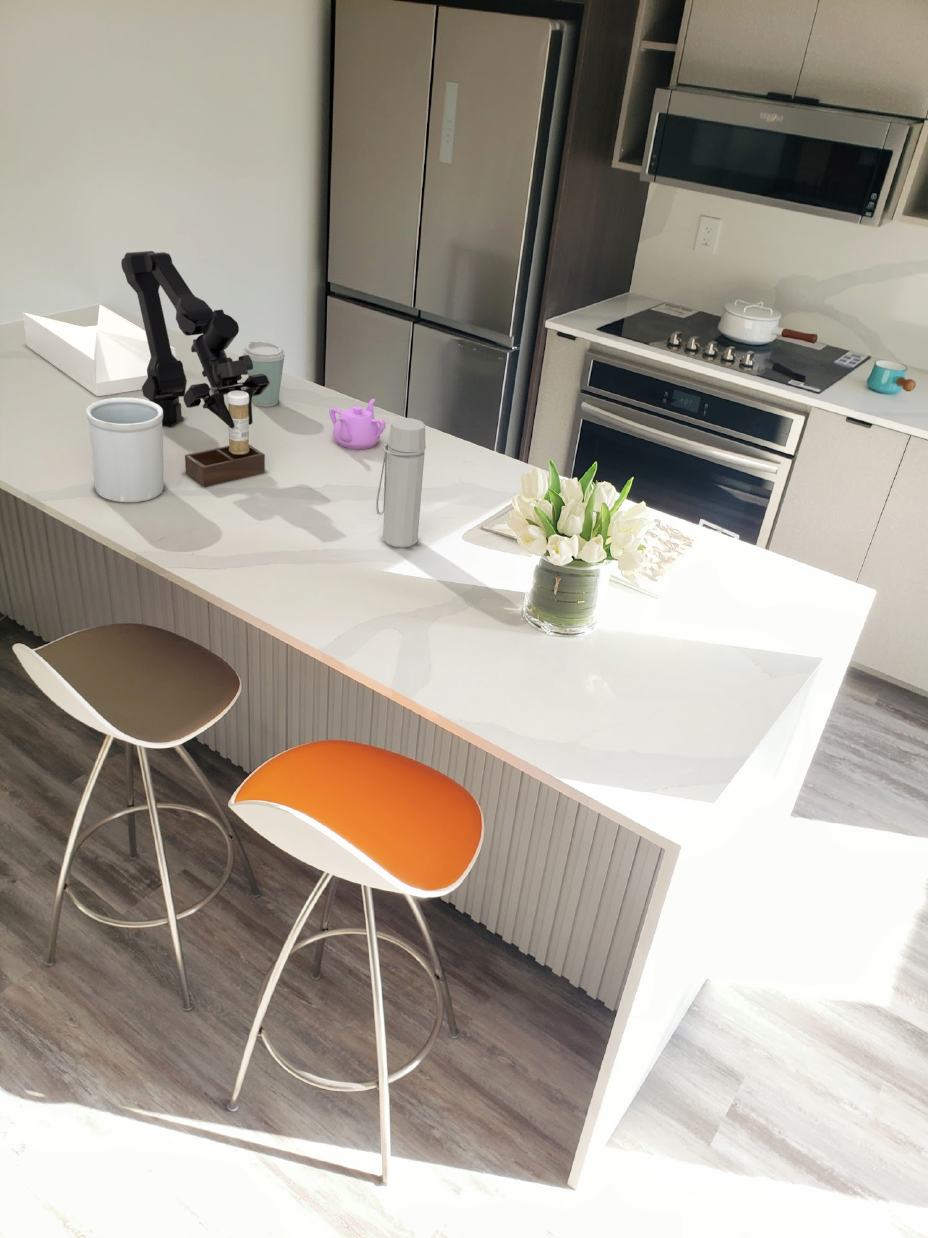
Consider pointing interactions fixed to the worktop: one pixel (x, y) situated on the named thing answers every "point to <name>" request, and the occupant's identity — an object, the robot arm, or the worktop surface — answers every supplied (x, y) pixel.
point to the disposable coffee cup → (266, 369)
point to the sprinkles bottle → (238, 422)
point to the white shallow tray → (93, 351)
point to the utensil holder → (126, 448)
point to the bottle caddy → (223, 465)
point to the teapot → (357, 427)
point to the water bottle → (403, 482)
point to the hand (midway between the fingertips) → (242, 425)
